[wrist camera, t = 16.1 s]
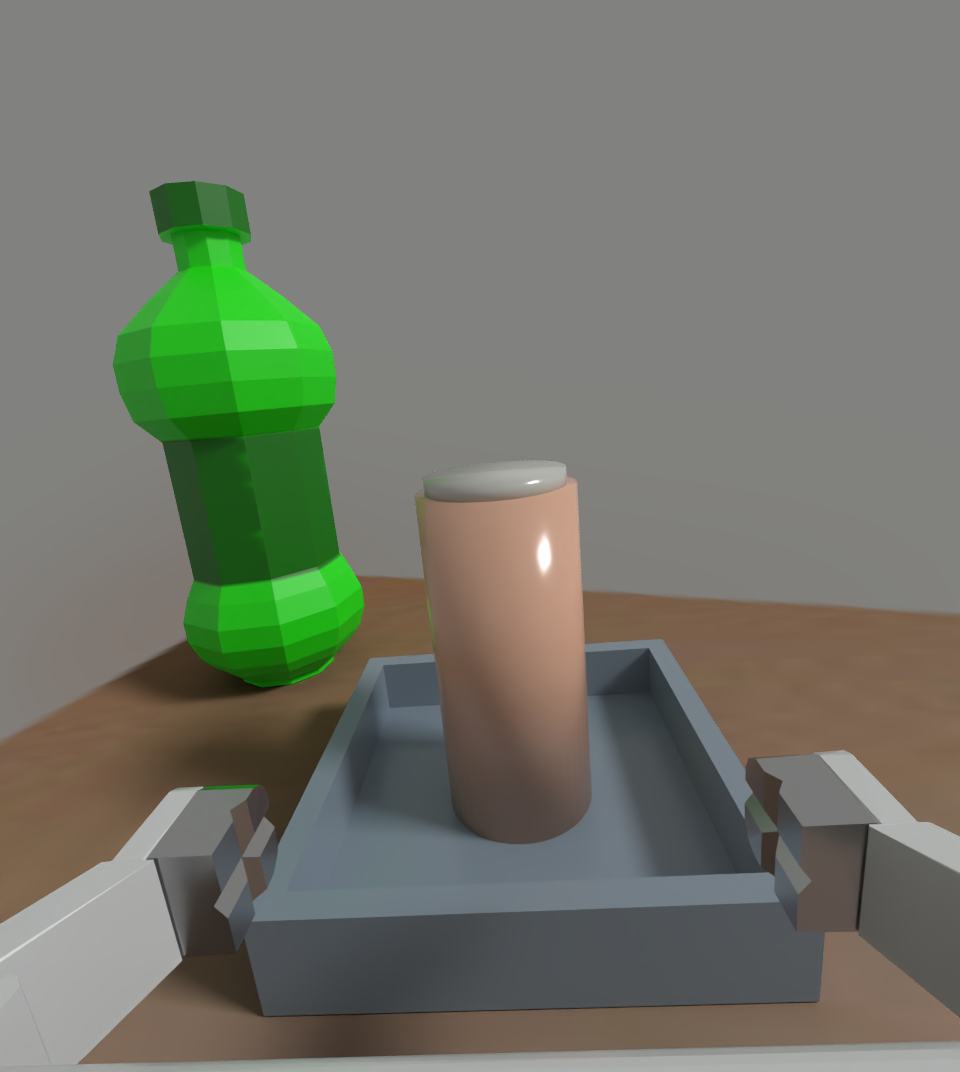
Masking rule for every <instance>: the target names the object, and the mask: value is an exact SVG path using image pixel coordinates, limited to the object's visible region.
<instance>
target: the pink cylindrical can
mask: <svg viewBox="0 0 960 1072" xmlns="http://www.w3.org/2000/svg"><path fill="white" fill-rule="evenodd" d="M422 480H423V490H420V491H419V492H417V493H416V494H415V503H416V504H415V505H416V513H417V520H418V529H419V537H420V545H421V554H422V562H423V570H424V578H425V586H426V595H427V603H428V611H429V619H430V627H431V635H432V644H433V652H434V660H435V668H436V676H437V685H438V693H439V701H440V709H441V717H442V725H443V734H444V742H445V750H446V758H447V766H448V774H449V783H450V791H451V799H452V806H453V809H454V811H455V813H456V815H457V817H458V819H459V820H460V821H461V822H462V823H463V824H464V825H465V826H466V827H467V828H468V829H469V830H471V831H472V832H474V833H475V834H477V835H479V836H481V837H483V838H486V839H489V840H492V841H496V842H500V843H506V844H532V843H538V842H543V841H546V840H549V839H553V838H555V837H557V836H560V835H562V834H564V833H565V832H567V831H569V830H570V829H571V828H573V827H574V826H575V825H577V824H578V823H579V821H580V820H581V819H582V818H583V817H584V815H585V814H586V813H587V811H588V808H589V806H590V803H591V799H592V783H591V762H590V741H589V721H588V700H587V679H586V659H585V638H584V617H583V597H582V576H581V556H580V535H579V514H578V495H577V481H576V480H575V479H573V478H571V477H567V475H566V465H565V464H563V463H559V462H552V461H534V460H532V461H531V460H529V461H528V460H527V461H504V462H491V463H482V464H474V465H466V466H460V467H454V468H449V469H444V470H440V471H437V472H433V473H430V474H428V475H426V476H424V477H423V478H422Z"/></svg>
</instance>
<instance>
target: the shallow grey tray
mask: <svg viewBox="0 0 960 1072" xmlns="http://www.w3.org/2000/svg"><path fill="white" fill-rule="evenodd" d="M585 659H586V679H587V700H588V721H589V741H590V762H591V783H592V799H591V803H590V806H589V808H588V811H587V813H586V814H585V815H584V817H583V818H582V819H581V820H580V821H579V823H578V824H577V825H575V826H574V827H573V828H571V829H570V830H569V831H567V832H565V833H564V834H562V835H560V836H557V837H555V838H553V839H549V840H546V841H543V842H538V843H532V844H506V843H500V842H496V841H492V840H489V839H486V838H483V837H481V836H479V835H477V834H475V833H474V832H472V831H471V830H469V829H468V828H467V827H466V826H465V825H464V824H463V823H462V822H461V821H460V820H459V819H458V817H457V815H456V813H455V811H454V809H453V806H452V799H451V791H450V783H449V774H448V766H447V758H446V750H445V742H444V734H443V725H442V717H441V709H440V701H439V693H438V685H437V676H436V668H435V660H434V654H428V655H412V656H397V657H382V658H370V659H369V661H368V663H367V665H366V667H365V669H364V671H363V674H362V676H361V678H360V680H359V682H358V684H357V686H356V688H355V690H354V692H353V694H352V696H351V698H350V700H349V702H348V704H347V706H346V708H345V710H344V712H343V714H342V716H341V718H340V720H339V722H338V724H337V726H336V728H335V730H334V733H333V735H332V737H331V739H330V741H329V743H328V745H327V747H326V749H325V751H324V753H323V755H322V757H321V759H320V761H319V763H318V765H317V767H316V769H315V771H314V773H313V775H312V777H311V779H310V781H309V783H308V785H307V787H306V789H305V792H304V794H303V796H302V798H301V800H300V802H299V804H298V806H297V808H296V810H295V812H294V814H293V816H292V818H291V820H290V822H289V824H288V826H287V828H286V830H285V832H284V834H283V836H282V838H281V840H280V842H279V844H278V856H277V861H276V866H275V870H274V874H273V877H272V879H271V881H270V883H269V886H268V888H267V890H265V891H264V892H263V893H262V894H261V895H259V896H258V897H257V898H256V899H255V900H253V905H254V910H255V916H254V918H253V920H252V922H251V924H250V926H249V929H248V931H247V933H246V935H245V937H244V939H245V943H246V947H247V951H248V955H249V959H250V963H251V967H252V971H253V975H254V979H255V983H256V987H257V991H258V995H259V999H260V1003H261V1007H262V1011H263V1015H264V1016H289V1015H326V1014H364V1013H402V1012H440V1011H477V1010H515V1009H553V1008H591V1007H628V1006H666V1005H704V1004H742V1003H779V1002H817V1001H819V999H820V987H821V974H822V961H823V949H824V936H825V932H796V931H795V929H794V927H793V925H792V923H791V921H790V920H789V918H788V916H787V914H786V912H785V911H784V909H783V907H782V905H781V903H780V902H779V900H778V898H777V896H776V894H775V892H774V884H775V877H774V876H773V875H771V874H770V873H769V872H767V871H766V870H764V869H763V868H761V867H760V865H759V863H758V861H757V859H756V857H755V855H754V853H753V851H752V848H751V845H750V843H749V840H748V835H747V830H746V825H745V802H746V801H747V799H748V798H749V797H750V796H751V794H752V793H753V791H752V790H751V788H750V786H749V785H748V783H747V782H746V780H745V774H746V771H745V769H744V768H743V766H742V764H741V763H740V761H739V760H738V758H737V757H736V755H735V753H734V752H733V750H732V749H731V747H730V745H729V744H728V742H727V741H726V739H725V738H724V736H723V734H722V733H721V731H720V730H719V728H718V726H717V725H716V723H715V722H714V720H713V719H712V717H711V715H710V714H709V712H708V711H707V709H706V708H705V706H704V704H703V703H702V701H701V700H700V698H699V696H698V695H697V693H696V692H695V690H694V689H693V687H692V685H691V684H690V682H689V681H688V679H687V677H686V676H685V674H684V673H683V671H682V670H681V668H680V666H679V665H678V663H677V662H676V660H675V658H674V657H673V655H672V654H671V652H670V651H669V649H668V647H667V646H666V644H665V643H664V641H663V639H656V640H640V641H625V642H610V643H595V644H585Z"/></svg>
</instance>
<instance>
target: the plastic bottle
mask: <svg viewBox="0 0 960 1072" xmlns="http://www.w3.org/2000/svg"><path fill="white" fill-rule="evenodd" d="M150 196H151V201H152V206H153V211H154V216H155V220H156V225H157V229H158V234H159V236H160V238H161V240H162V241H163V242H166V243H169V244H173V247H174V252H175V256H176V261H177V266H178V271H179V272H178V273H176V274H175V275H174V276H173V277H172V278H171V280H169V281H168V282H167V283H166V284H165V285H164V286H163V287H162V288H161V289H160V290H159V291H158V292H157V293H156V294H155V295H154V296H153V297H152V298H151V299H150V300H149V301H148V302H147V303H146V304H145V305H144V306H143V307H142V309H141V310H140V311H139V312H138V313H137V314H136V316H135V317H134V318H133V319H132V320H131V321H130V322H129V323H128V325H127V326H126V327H125V328H124V329H123V331H122V332H121V333H120V334H119V335H118V338H117V344H116V350H115V356H114V362H113V368H114V372H115V375H116V380H117V384H118V388H119V392H120V395H121V397H122V399H123V401H124V403H125V405H126V407H127V409H128V411H129V413H130V415H131V417H132V420H133V421H134V423H136V424H137V425H139V426H140V427H142V428H143V429H144V430H145V431H147V432H148V433H150V434H151V435H152V436H154V437H155V438H156V439H158V440H159V441H161V442H162V443H163V447H164V451H165V455H166V459H167V464H168V468H169V472H170V477H171V481H172V486H173V489H174V494H175V498H176V503H177V507H178V512H179V516H180V520H181V525H182V529H183V533H184V538H185V542H186V546H187V551H188V555H189V559H190V564H191V568H192V572H193V577H194V582H193V585H192V588H191V591H190V594H189V597H188V600H187V606H186V611H185V617H184V627H185V631H186V635H187V640H188V643H189V645H190V646H191V647H192V648H193V650H194V651H195V652H196V653H197V655H198V656H199V657H200V658H201V660H203V661H204V662H206V663H208V664H209V665H211V666H213V667H214V668H216V669H219V670H222V671H225V672H227V673H229V674H232V675H234V676H237V677H240V678H243V679H244V682H247V683H250V684H253V685H256V686H259V687H270V686H279V685H288V684H293V683H296V682H298V681H301V680H303V679H306V678H309V677H311V676H314V675H316V674H319V673H320V672H321V671H322V670H323V669H324V668H326V667H327V666H328V665H329V664H330V663H331V662H332V661H333V660H334V658H333V656H334V655H335V654H336V653H337V652H339V651H340V649H341V648H342V647H343V646H344V644H345V643H346V642H347V641H348V640H349V639H350V638H351V637H352V635H353V634H354V632H355V631H356V629H357V627H358V626H359V624H360V620H361V616H362V612H363V608H364V600H363V593H362V587H361V585H360V583H359V581H358V580H357V578H356V576H355V574H354V573H353V571H352V569H351V568H350V566H349V564H348V563H347V561H346V560H345V558H344V557H343V555H342V554H341V553H340V551H339V548H338V542H337V536H336V529H335V523H334V517H333V511H332V505H331V498H330V492H329V487H328V480H327V473H326V467H325V461H324V455H323V448H322V442H321V436H320V430H319V425H320V424H321V423H322V421H323V419H324V418H325V416H326V415H327V414H328V412H329V411H330V409H331V408H332V406H333V405H334V403H335V388H336V373H335V366H334V359H333V353H332V350H331V348H330V346H329V344H328V342H327V340H326V338H325V336H324V334H323V333H322V331H321V329H320V327H319V325H317V324H316V323H315V322H313V321H312V320H311V319H310V318H309V317H307V316H306V315H305V314H304V313H302V312H301V311H300V310H299V309H297V308H296V307H295V306H294V305H293V304H291V303H290V302H289V301H288V300H286V299H285V298H284V297H283V296H281V295H280V294H278V293H277V292H276V291H274V290H273V289H271V288H270V287H269V286H267V285H266V284H264V283H263V282H261V281H260V280H259V279H257V278H256V277H254V276H253V275H252V274H250V273H249V272H247V271H246V268H245V263H244V257H243V251H242V246H241V245H243V244H246V243H248V242H250V241H251V234H250V228H249V222H248V217H247V212H246V205H245V200H244V194H242V193H240V192H238V191H236V190H234V189H232V188H230V187H227V186H225V185H218V184H211V183H204V182H196V181H191V182H180V183H167V184H163V185H161V186H160V187H157V188H155V189H153V190H151V191H150Z"/></svg>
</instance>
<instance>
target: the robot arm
mask: <svg viewBox="0 0 960 1072" xmlns="http://www.w3.org/2000/svg"><path fill="white" fill-rule="evenodd" d="M745 780H746V782H747V783H748V785H749V786H750V788H751V790H752V791H753V793H752V794H751V796H750V797H749V798H748V799H747V801H746V802H745V825H746V830H747V835H748V840H749V843H750V845H751V848H752V851H753V853H754V855H755V857H756V859H757V861H758V863H759V865H760V867H761V868H763V869H764V870H766V871H767V872H769V873H770V874H771V875H773V876H774V877H775V884H774V892H775V894H776V896H777V898H778V900H779V902H780V903H781V905H782V907H783V909H784V911H785V912H786V914H787V916H788V918H789V920H790V921H791V923H792V925H793V927H794V929H795V931H796V932H859V933H858V935H859V936H860V937H862V938H863V939H864V940H865V941H866V942H868V943H869V944H870V945H871V946H873V947H874V948H875V949H876V950H878V951H879V952H880V953H881V954H882V955H884V956H885V957H886V958H887V959H889V960H890V961H891V962H892V963H894V964H895V965H896V966H897V967H898V968H900V969H901V970H902V971H903V972H905V973H906V974H907V975H908V976H909V977H911V978H912V979H913V980H914V981H916V982H917V983H918V984H919V985H921V986H922V987H923V988H924V989H925V990H927V991H928V992H929V993H930V994H932V995H933V996H934V997H935V998H937V999H938V1000H939V1001H940V1002H941V1003H943V1004H944V1005H945V1006H946V1007H948V1008H949V1009H950V1010H951V1011H952V1012H954V1013H955V1014H956V1015H957V1016H959V1017H960V837H959V836H957V835H955V834H953V833H951V832H949V831H947V830H945V829H943V828H940V827H938V826H936V825H934V824H932V823H930V822H917V821H916V820H915V819H914V818H913V817H912V815H911V814H910V813H909V812H908V811H907V810H906V809H905V808H904V807H903V806H902V805H901V804H900V803H899V802H898V801H897V800H896V799H895V798H894V797H893V796H892V795H891V794H890V793H889V792H888V791H887V790H886V789H885V788H884V787H883V786H882V785H881V784H880V783H879V782H878V781H877V779H876V778H875V777H874V776H873V775H872V774H871V773H870V772H869V771H868V770H867V769H866V768H865V767H864V766H863V765H862V764H861V763H860V762H859V761H858V760H857V759H856V758H855V757H854V756H853V755H852V754H851V753H849V752H846V751H844V750H841V751H829V752H818V753H812V754H806V755H789V756H773V757H756V758H749V759H748V761H747V764H746V774H745ZM269 806H270V802H269V799H268V795H267V791H266V788H264V787H263V786H261V785H233V786H206V787H185V788H177V789H174V790H172V791H170V792H169V793H168V794H167V795H166V796H165V798H164V799H163V800H162V801H161V802H160V804H159V805H158V806H157V807H156V808H155V810H154V811H153V812H152V813H151V815H150V816H149V817H148V818H147V819H146V821H145V822H144V823H143V824H142V825H141V827H140V828H139V829H138V830H137V831H136V833H135V834H134V835H133V836H132V837H131V839H130V840H129V841H128V842H127V843H126V845H125V846H124V847H123V848H122V849H121V851H120V852H119V853H118V854H117V855H116V857H115V858H114V859H113V860H112V861H111V862H101V863H100V864H98V865H96V866H95V867H93V868H91V869H90V870H88V871H87V872H85V873H83V874H82V875H80V876H78V877H77V878H75V879H73V880H72V881H70V882H69V883H67V884H65V885H64V886H62V887H60V888H59V889H57V890H55V891H54V892H52V893H51V894H49V895H47V896H46V897H44V898H42V899H41V900H39V901H37V902H36V903H34V904H32V905H31V906H29V907H28V908H26V909H24V910H23V911H21V912H19V913H18V914H16V915H14V916H13V917H11V918H10V919H8V920H6V921H5V922H3V923H1V924H0V1072H960V1041H932V1042H895V1043H859V1044H823V1045H785V1046H747V1047H708V1048H670V1049H632V1050H593V1051H556V1052H519V1053H482V1054H445V1055H409V1056H372V1057H335V1058H298V1059H261V1060H224V1061H187V1062H150V1063H113V1064H77V1063H78V1062H79V1061H80V1060H81V1059H82V1058H83V1057H84V1056H86V1055H87V1054H88V1053H89V1052H90V1051H91V1050H92V1049H93V1048H94V1047H95V1046H96V1045H97V1044H98V1043H99V1042H100V1041H101V1040H102V1039H103V1038H104V1037H105V1036H106V1035H107V1034H108V1033H109V1032H110V1031H111V1030H112V1029H113V1028H114V1027H115V1026H116V1025H117V1024H118V1023H119V1022H120V1021H121V1020H122V1019H123V1018H124V1017H125V1016H126V1015H127V1014H128V1013H129V1012H130V1011H131V1010H132V1009H133V1008H135V1007H136V1006H137V1005H138V1004H139V1003H140V1002H141V1001H142V1000H143V999H144V998H145V997H146V996H147V995H148V994H149V993H150V992H151V991H152V990H153V989H154V988H155V987H156V986H157V985H158V984H159V983H160V982H161V981H162V980H163V979H164V978H165V977H166V976H167V975H168V974H169V973H170V972H171V971H172V970H173V969H174V968H175V967H176V966H177V965H178V964H179V963H180V962H181V961H182V957H194V956H208V955H222V954H236V953H237V952H238V950H239V948H240V945H241V943H242V941H243V939H244V937H245V935H246V933H247V931H248V929H249V926H250V924H251V922H252V920H253V918H254V916H255V910H254V905H253V900H255V899H256V898H257V897H258V896H259V895H261V894H262V893H263V892H264V891H265V890H267V888H268V886H269V883H270V881H271V879H272V877H273V874H274V870H275V866H276V861H277V856H278V839H277V834H276V829H275V827H274V826H273V825H272V824H271V823H270V822H269V821H268V820H267V819H266V818H265V817H264V815H265V814H266V812H267V810H268V808H269Z"/></svg>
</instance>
